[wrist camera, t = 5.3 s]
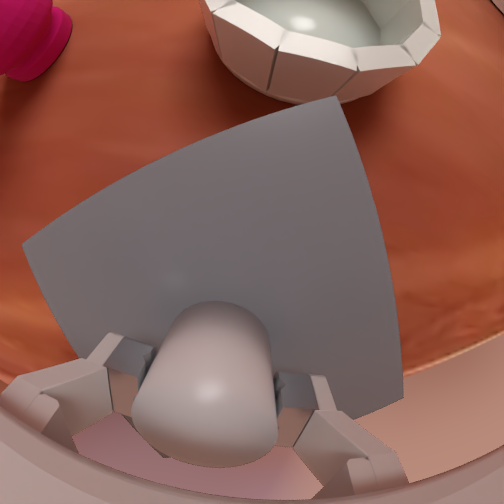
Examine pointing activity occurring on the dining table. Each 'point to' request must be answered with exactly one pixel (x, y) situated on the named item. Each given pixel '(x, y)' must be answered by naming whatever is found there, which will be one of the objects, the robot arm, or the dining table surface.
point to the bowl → (320, 44)
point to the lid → (233, 281)
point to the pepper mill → (31, 37)
